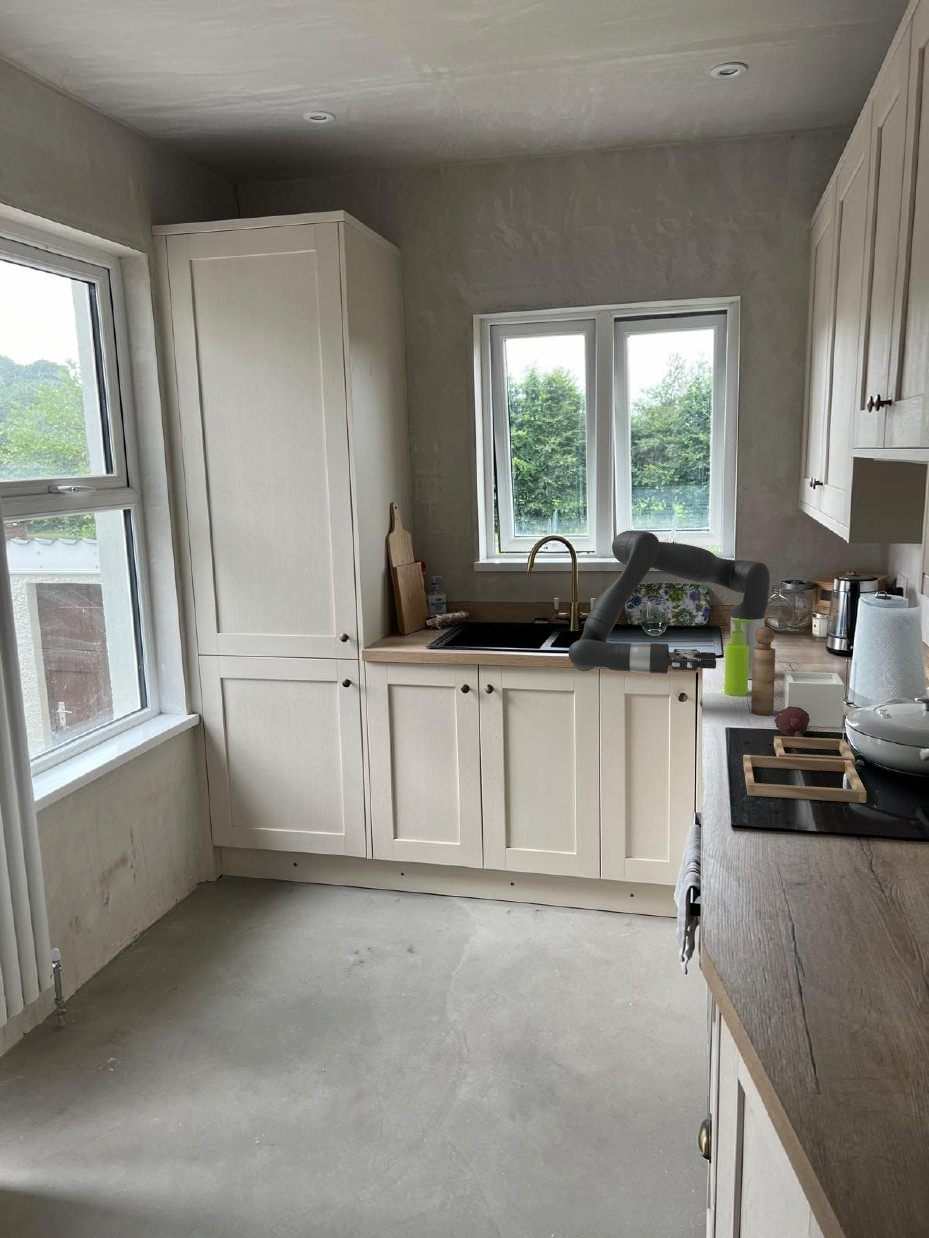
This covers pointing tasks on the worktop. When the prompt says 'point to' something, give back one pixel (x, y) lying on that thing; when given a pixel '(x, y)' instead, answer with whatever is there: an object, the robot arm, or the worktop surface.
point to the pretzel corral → (804, 791)
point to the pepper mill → (763, 673)
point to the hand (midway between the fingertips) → (716, 660)
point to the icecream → (792, 721)
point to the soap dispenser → (737, 661)
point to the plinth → (815, 696)
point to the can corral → (815, 744)
